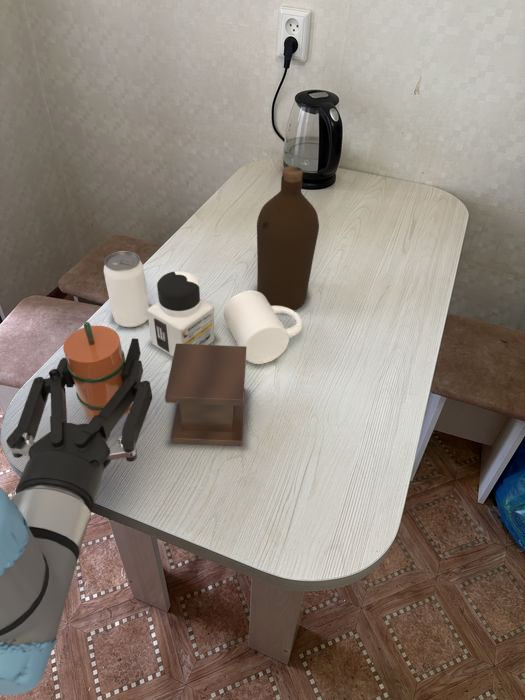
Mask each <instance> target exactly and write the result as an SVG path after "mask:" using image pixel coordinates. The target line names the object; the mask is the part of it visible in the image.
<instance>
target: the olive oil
mask: <svg viewBox="0 0 525 700" xmlns="http://www.w3.org/2000/svg"><path fill="white" fill-rule="evenodd" d="M303 175H304V170H303V169H302V168H301V167H299V166H295V165H288V166H285V167H283V169H282V176H281V179H280V180H281V181H280V191H279V192H278V193H276V194H275V195H274V196H273V197H271V198H270V199H269V200H268V201H266V203H265V204H264V205H263V206H262V208H261V209H260V211H259V214H258V216H257V221H256V255H257V257H256V260H257V261H256V264H257V265H256V266H257V267H256V268H257V270H256V271H257V277H256V278H257V283H256V291H258V292H260V293H262V294H263V295H264V296H265V297H266V299H267V301H268V302H269V304H270V305H271V306H283V307H287V308H289V309H291V310H293V311H295V310H297V309H299V308H301V307H303V305H304V304H305V303H306V300H307V295H308V291H309V284H310V277H311V271H312V268H313V263H314V256H315V252H316V247H317V241H318V236H319V231H320V222H319V216H318V212H317V210H316V208H315V207H314V205H313V204H312V203H311V202H310V201H309V199H308V198H307V197H305V195H304V194H303V193H302V187H303V180H304V179H303Z"/></svg>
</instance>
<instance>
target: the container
mask: <svg viewBox="0 0 525 700" xmlns="http://www.w3.org/2000/svg"><path fill="white" fill-rule="evenodd" d="M156 288H157V297H158V301H157V302H156V303H154V304H152V305H151V306H149V308H148V309H147V313H148V320H147V321H148V327H149V333H150V341H151V344H152V345H153V346H155V347H157V348H158V349H160V350H161V351H163V352H164V353H167V354H168V355H170V356H171V357H173V355H174V351H175V346H176V344H199V345H211V343H213V342H214V341H215V337H216V336H215V335H216V334H215V307H214V304H211V303H210V302H208V301H206V300H205V299H203V298H201V297H202V296H201V282H200V279H199V278H198V277H197V276H196V275H194V274H193V273H191V272H188V271H185V270H176V271H175V270H174V271H170V272H167V273H165V274H163V275H162V276H161V277H160V278H159V280H158V281H157V283H156Z"/></svg>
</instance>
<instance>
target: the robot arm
mask: <svg viewBox="0 0 525 700" xmlns="http://www.w3.org/2000/svg"><path fill="white" fill-rule="evenodd" d="M141 352H142V351H141V347H140V342H139V338H136V337H135V338H131V341H130V343H129V348H128V350H127V354H126V357H125V364H124V367H123V370H122V373H121V376H122V381H123V384H122V385H121V386H120V387H119V389H118V390H117V391H116V393H115V394H114V395H113V396H112V398H111V399H110V400H109V402H108V403H107V404H106V405H105V407H104V408H103V409H102V411H101V412H100V413H99V414H98V415H95V416H94V417H93V418H92V419H91V420H89V422H88V423H85V422H84V423H78V424H77V423H74V422H68V412H67V410H68V409H67V393H66V388H72V389H73V388H74V387H75V385H74V382H73V379H72V376H71V375H70V373H69V370H68V367H67V360H66V357H62V358H60V360H59V362H58V364H57V366H56V368H53V369H51V370H50V371H48V376H49V377H46V378H44V377H43V376H37V377H35V378H34V379H33V381H32V382H31V383H32V384H31V385H30V389H29V392H28V394H27V397H26V401H25V403H24V406H23V409H22V412H21V415H20V417H19V419H18V423H17V426H15V428H14V430H12V432H11V434H10V435H8V437H7V439H5V440H6V441H5V442H6V444H7V447H8V448H9V450H10V453H11V454H12V456H13V458H15V459H20V458H21V457H24V456H26V457H28V459H29V460H28V461H27V462H26V464H25V466H24V469H23V470H22V473H21V476H20V479H19V480H18V483H17V485H16V488H15V494H14V495H13V496H11V498H10V496H9V495H8V493H7V492H5V490H4V489H3V488H2V487H1V486H0V696H16V695H21V694H22V695H23V694H26V693H29V692H30V691H33V690H34V689H35V688H36V687H37V686H39V684H40V683H41V682H42V680H43V678H44V675H45V672H46V670H47V667H48V664H49V662H50V657H51V655H52V653H53V649H54V647H55V646H56V644H57V643H58V638H57V635H58V632H59V628H60V625H61V621H62V619H63V614H64V611H65V607H66V603H67V600H68V596H69V592H70V589H71V585H72V581H73V578H74V575H75V571H76V567H77V564H78V560H79V557H80V554H81V550H82V547H83V544H84V539H85V536H86V533H87V529H88V525H89V522H90V518H91V512H92V510H93V508H94V506H95V502H96V499H97V495H98V492H99V488H100V485H101V482H102V477H103V474H104V471H105V469H106V468H107V467H108V466H109V465H110V464H111V462H112V461H113V460H114V461H115V460H119V459H125V461H127V462H128V463H129V462H135V461H136V460H137V458H138V451H137V442H138V440H139V437H140V434H141V431H142V428H143V426H144V422H145V420H146V417H147V414H148V411H149V409H150V405H151V403H152V400H153V392H152V387H151V382H150V381H149V380H142V377H143V374H144V367H143V362H142V360H140V357H141V354H142V353H141ZM49 396H50V416H49V427H50V429H49V430H50V431H49V432H48V433H46V434H45V435H44V436H42V437H41V438H40V439H38V440H37V441H35V439H36V436H37V433H38V431H39V428H40V425H41V421H42V418H43V414H44V411H45V408H46V405H47V402H48V399H49ZM132 402H133V403H132ZM131 403H132V406H131V408H130V411H129V412H128V413H127V416H126V419H125V421H124V424H123V425H122V430H121V435H119V436H117V438H116V440H115V443H114V444H113V445H112V446H110V447H109V444H107V441H108V440H109V439H110V437H111V432H112V431H113V429H114V428H115V427H116V425H117V424H118V423H119V422H120V420H121V419H122V418H123V417H122V416H123V414H124V413H125V412H126V410H127V409H128V408H129V406H130V405H131ZM121 417H122V418H121Z"/></svg>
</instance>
